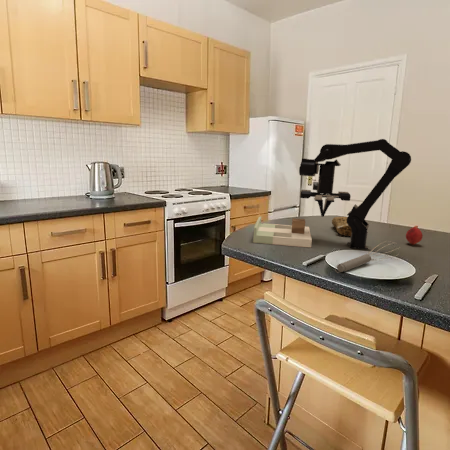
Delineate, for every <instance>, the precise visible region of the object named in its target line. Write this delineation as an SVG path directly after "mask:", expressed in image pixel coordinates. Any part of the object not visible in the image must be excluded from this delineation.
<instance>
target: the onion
mask: <svg viewBox="0 0 450 450" xmlns="http://www.w3.org/2000/svg"><path fill="white" fill-rule="evenodd" d="M418 227H419V225H414V226H413V227H411V228H409V229H408V230H407V231H406V233H405V239H406V240H407V242H408V243H409V244H410V245H412V246H414V245H416V244H418V243H419V242H421V241H422V239H423V236H424V235H423V232H422V230H421V229H419V228H418Z"/></svg>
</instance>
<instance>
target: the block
mask: <svg viewBox="0 0 450 450" xmlns="http://www.w3.org/2000/svg"><path fill="white" fill-rule="evenodd" d="M291 225H292V233H299V234H304V231H305V227H306V219H305V218H292V222H291Z"/></svg>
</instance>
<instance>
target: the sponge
mask: <svg viewBox="0 0 450 450" xmlns="http://www.w3.org/2000/svg"><path fill="white" fill-rule="evenodd" d="M347 217H348V216H336V217H335V216H334V217H333V218H332V220H331V224H332V227H334V228H335V229H336V232H337V233H338V234H339V235H341V236H346V237H350V238H351V232H352V230H351V227H350V226H349V225H348V224H347Z"/></svg>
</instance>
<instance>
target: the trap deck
mask: <svg viewBox="0 0 450 450" xmlns="http://www.w3.org/2000/svg"><path fill="white" fill-rule="evenodd" d="M252 238H253V239H252V243H253V244H254V243H255V244H266V245H276V246H287V247H288V246H289V247H299V248H312V243H313V241H312V234H311V229H310V226H305V231H304V234H299V233H292V224H290V225H289V224H277V223H276V224H275V223H264V222H263V223H262V216H258V218H257V220H256V222H255V224H254V227H253V237H252Z"/></svg>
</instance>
